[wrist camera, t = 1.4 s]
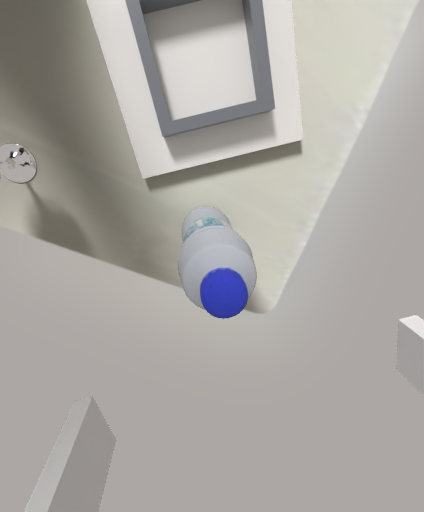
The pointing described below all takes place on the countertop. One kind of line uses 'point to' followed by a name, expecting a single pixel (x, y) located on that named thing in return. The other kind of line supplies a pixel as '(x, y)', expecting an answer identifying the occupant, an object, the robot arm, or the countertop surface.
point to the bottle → (215, 263)
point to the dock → (201, 77)
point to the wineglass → (16, 163)
